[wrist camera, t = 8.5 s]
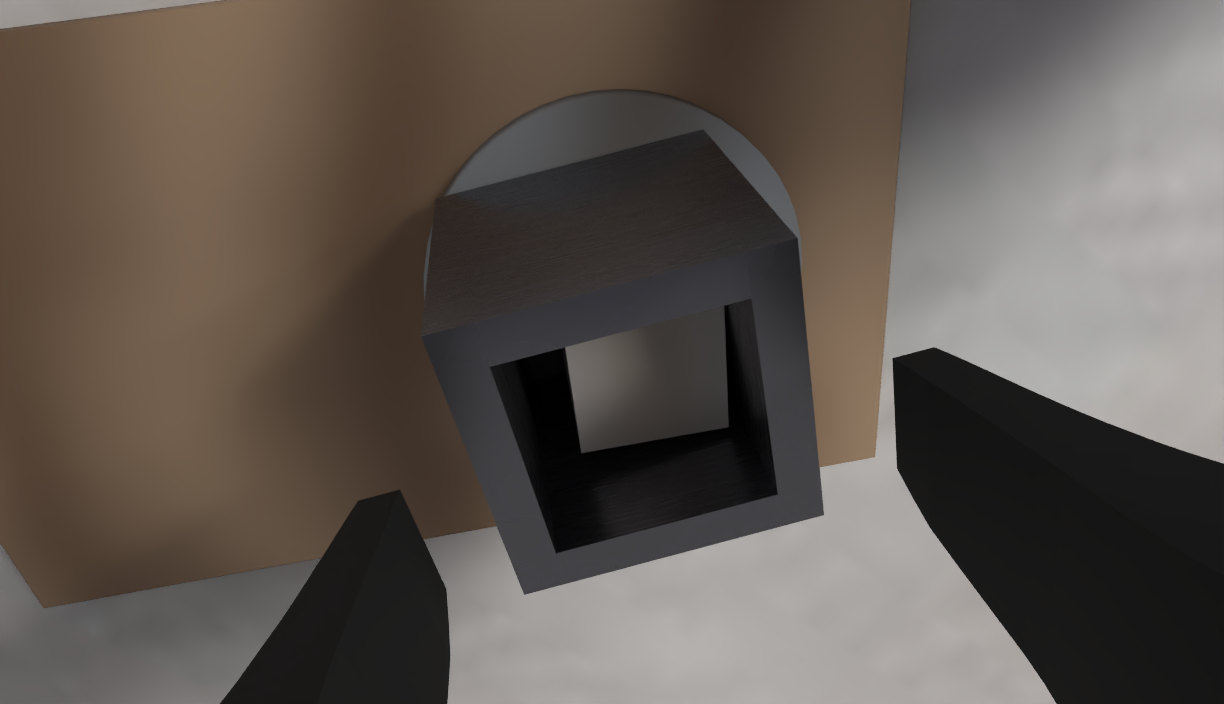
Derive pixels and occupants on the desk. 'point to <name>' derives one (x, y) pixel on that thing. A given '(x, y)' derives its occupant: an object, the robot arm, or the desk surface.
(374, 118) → the wooden board
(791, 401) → the socket sleeve
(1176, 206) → the desk surface
